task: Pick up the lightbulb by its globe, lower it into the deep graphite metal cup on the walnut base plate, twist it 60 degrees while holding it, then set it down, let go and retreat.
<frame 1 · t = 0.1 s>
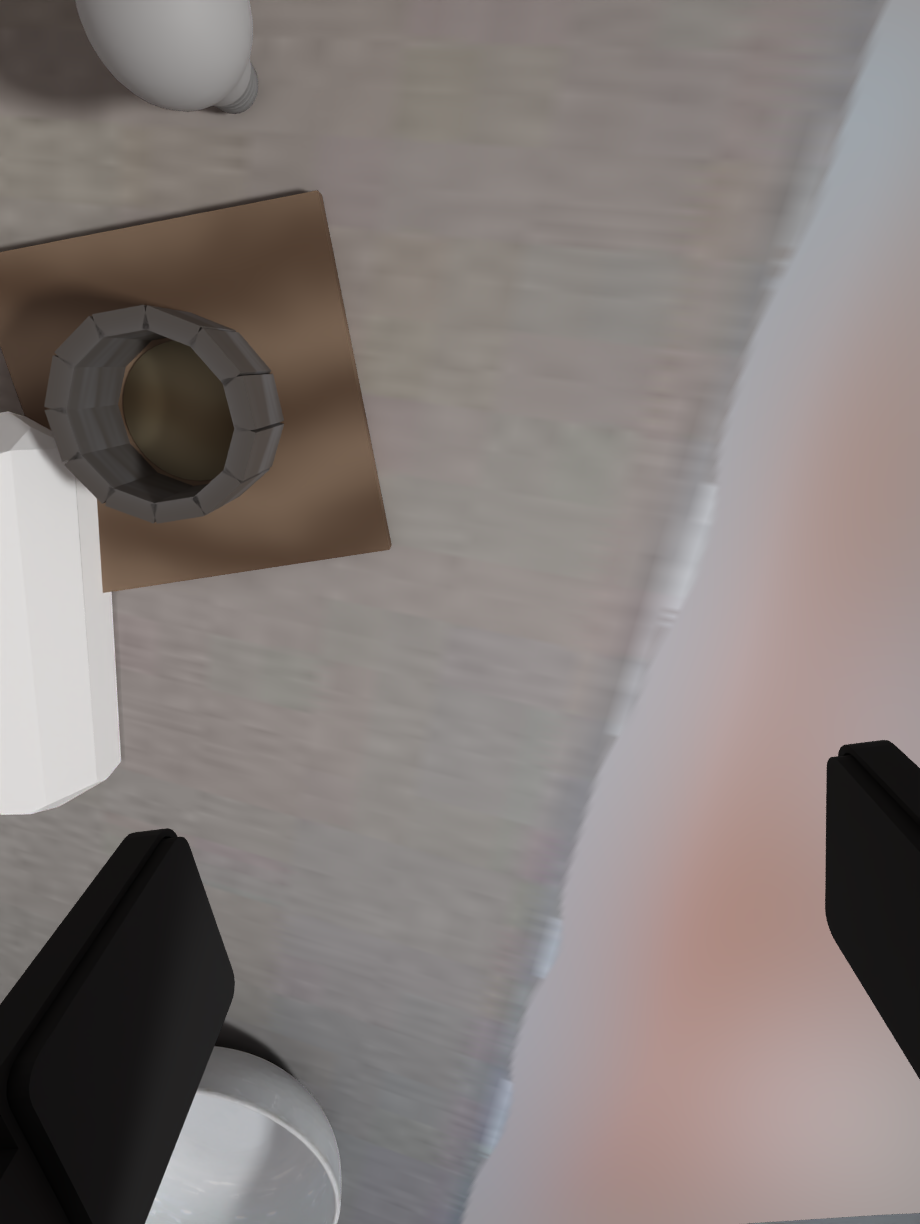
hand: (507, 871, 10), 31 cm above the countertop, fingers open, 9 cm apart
lightbulb: (238, 90, 34), on the countertop
socket: (198, 411, 39), on the countertop
crystal: (60, 608, 43), on the countertop, touching socket
serving bowl: (227, 1097, 57), on the countertop
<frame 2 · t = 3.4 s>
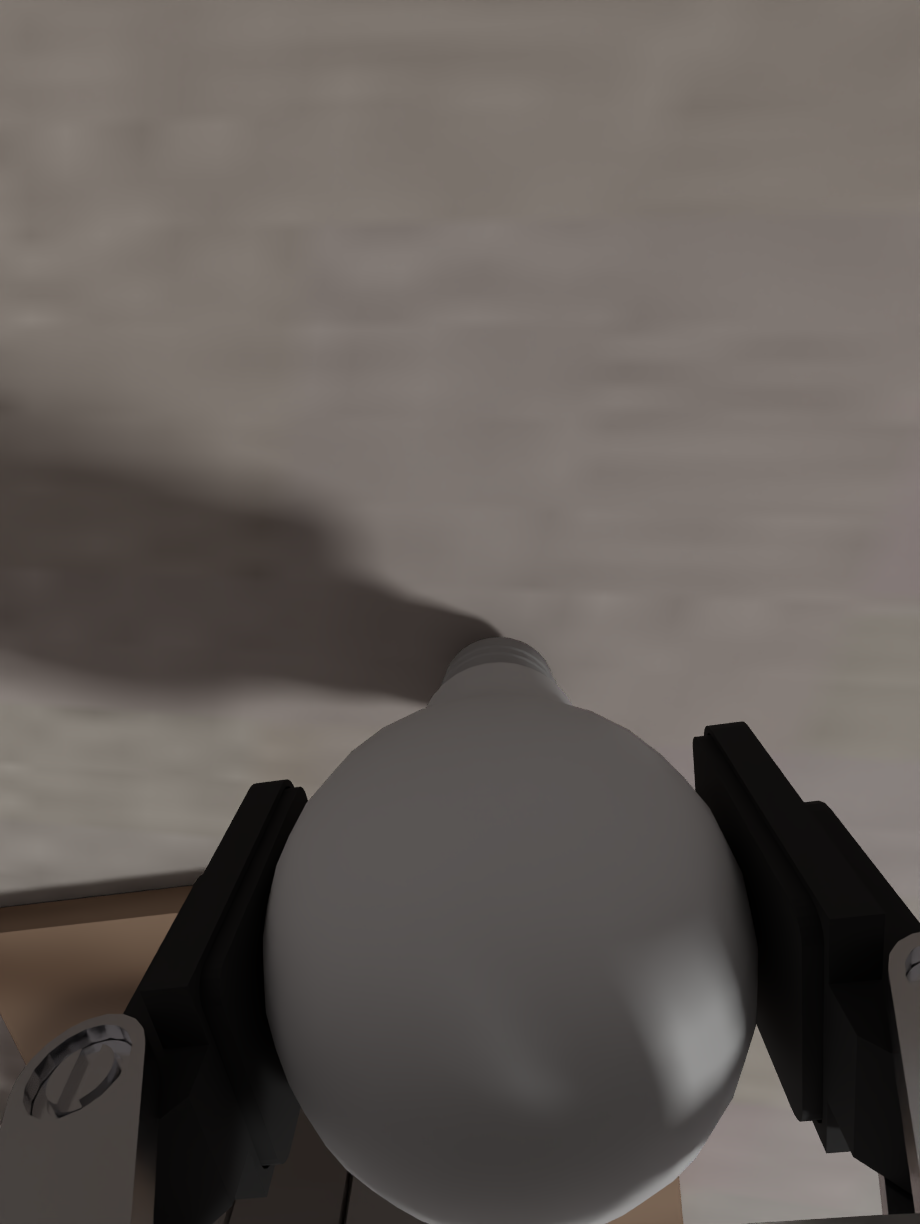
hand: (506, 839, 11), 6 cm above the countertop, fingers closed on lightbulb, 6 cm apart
lightbulb: (498, 669, 17), on the countertop, touching gripper
socket: (370, 1109, 22), on the countertop
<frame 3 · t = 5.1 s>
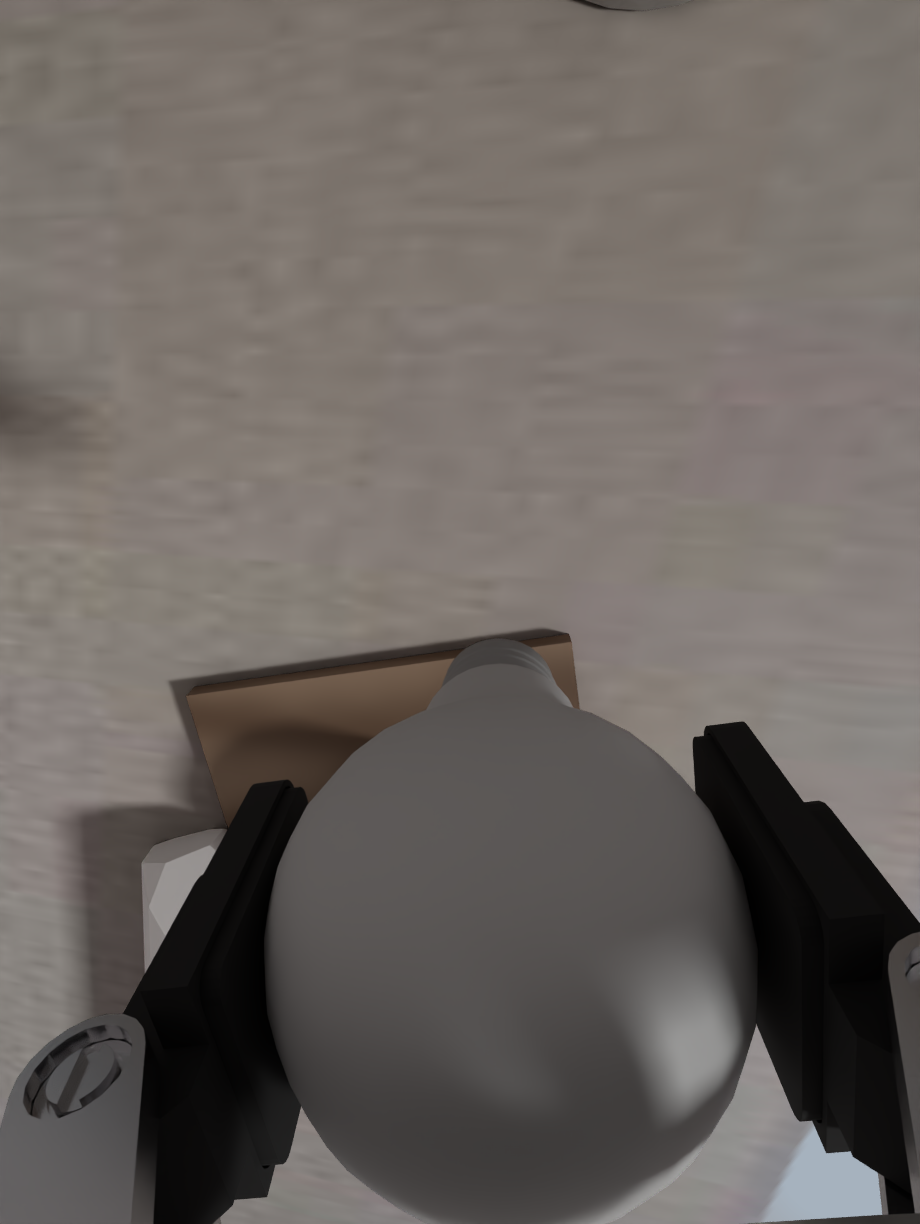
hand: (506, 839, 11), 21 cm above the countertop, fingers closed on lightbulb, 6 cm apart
lightbulb: (498, 670, 17), point 15 cm above the countertop, touching gripper
socket: (412, 821, 36), on the countertop
crystal: (227, 983, 41), on the countertop, touching socket
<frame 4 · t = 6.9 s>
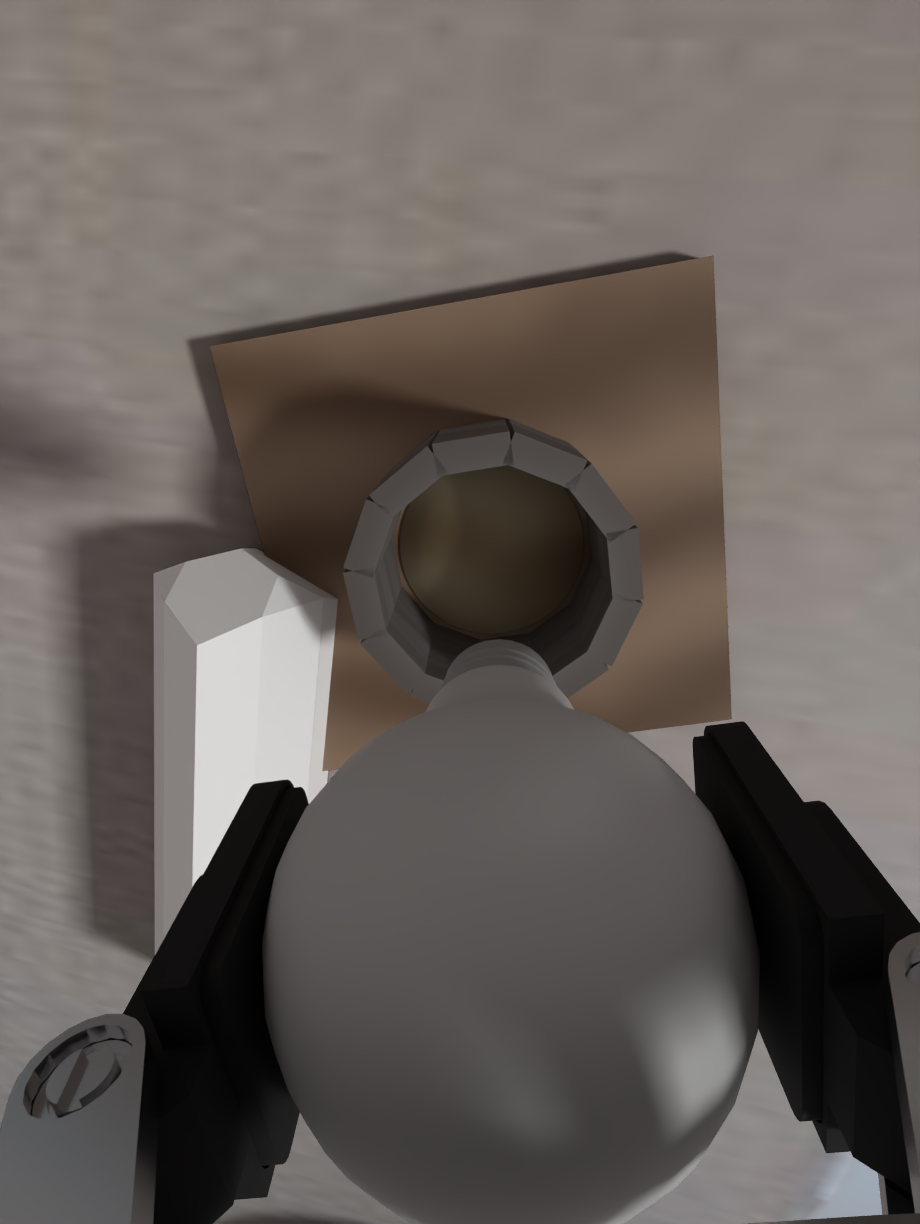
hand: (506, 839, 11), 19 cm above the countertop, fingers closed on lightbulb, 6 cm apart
lightbulb: (498, 671, 17), point 13 cm above the countertop, touching gripper
socket: (491, 541, 29), on the countertop
crystal: (252, 774, 34), on the countertop, touching socket
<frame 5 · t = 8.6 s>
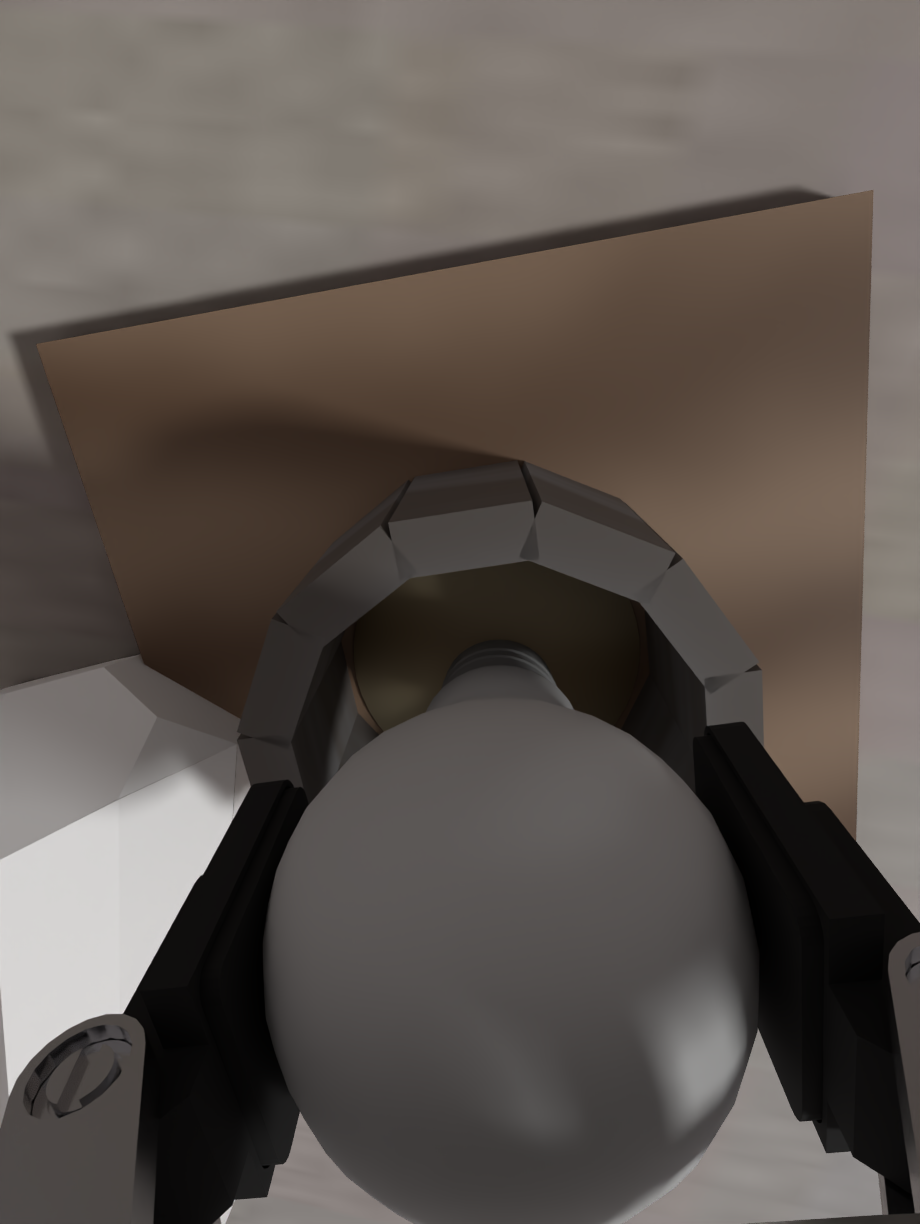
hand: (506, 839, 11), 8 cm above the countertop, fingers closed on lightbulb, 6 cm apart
lightbulb: (498, 672, 17), point 2 cm above the countertop, touching gripper
socket: (494, 642, 19), on the countertop
crystal: (153, 952, 24), on the countertop, touching socket
when the fingers open (7 cm above the countertop, at t = 10.3 s): lightbulb stays where it is, resting on socket.
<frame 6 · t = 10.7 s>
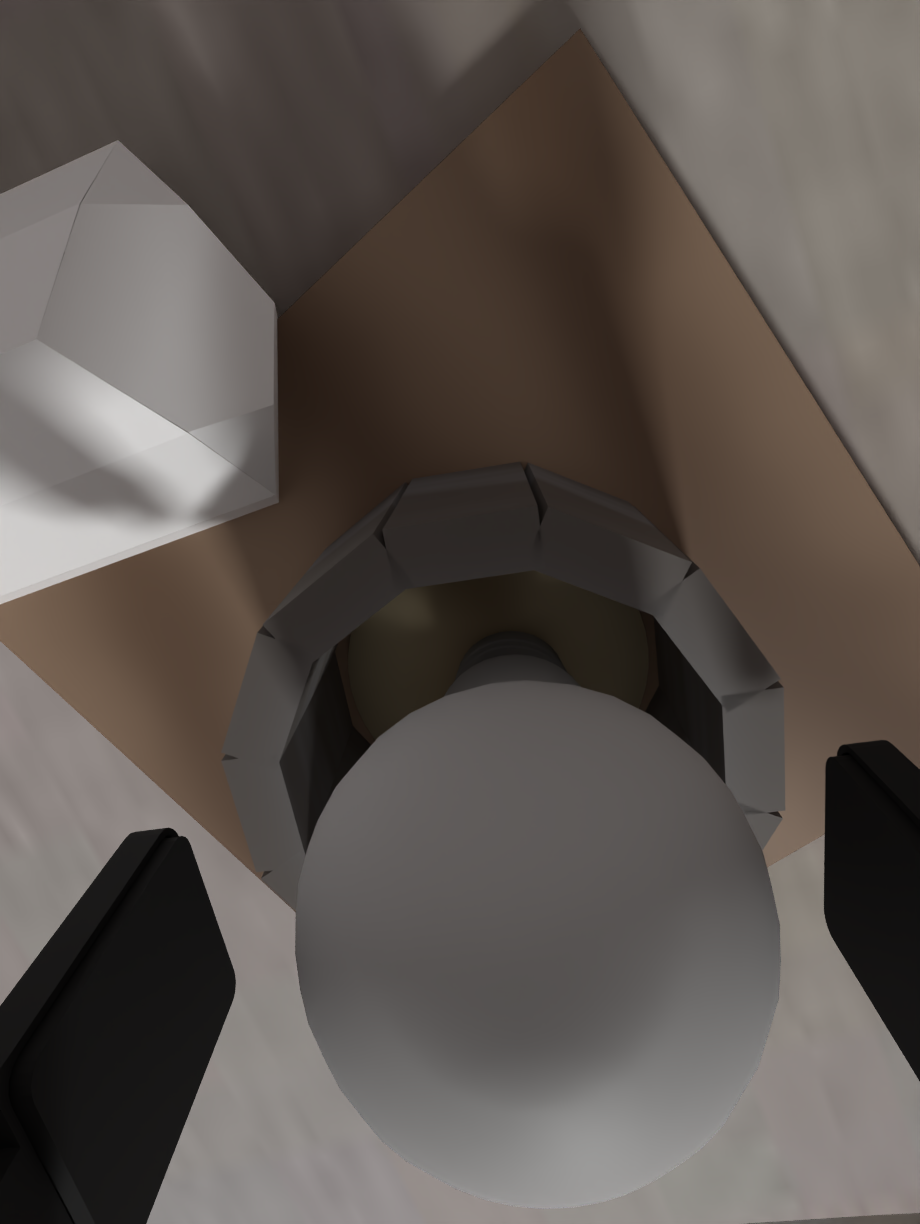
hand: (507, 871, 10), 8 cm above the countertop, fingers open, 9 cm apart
lightbulb: (509, 664, 17), point 1 cm above the countertop, touching socket
socket: (496, 652, 18), on the countertop
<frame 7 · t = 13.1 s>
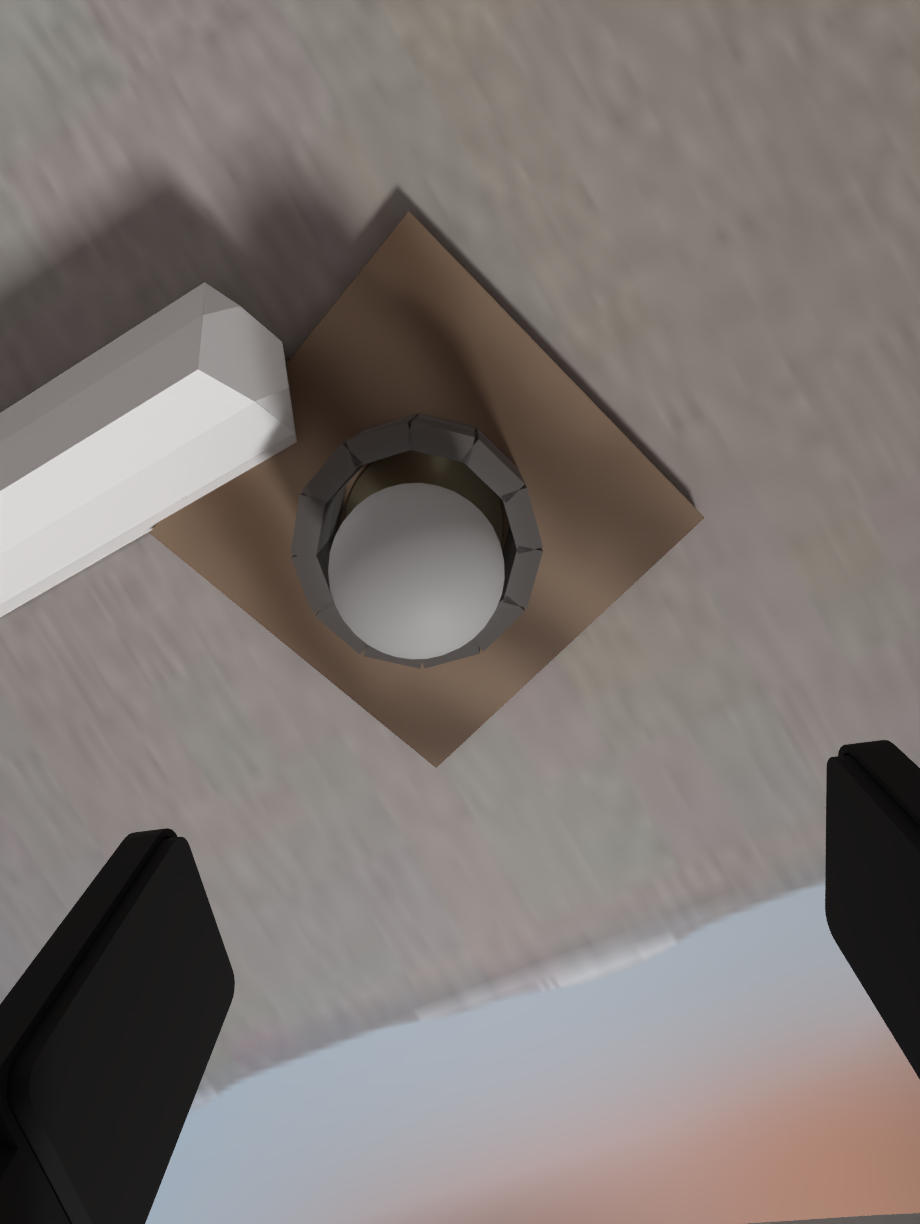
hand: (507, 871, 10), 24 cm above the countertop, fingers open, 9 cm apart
lightbulb: (430, 522, 32), point 1 cm above the countertop, touching socket
socket: (425, 520, 33), on the countertop
crystal: (86, 473, 33), on the countertop, touching socket
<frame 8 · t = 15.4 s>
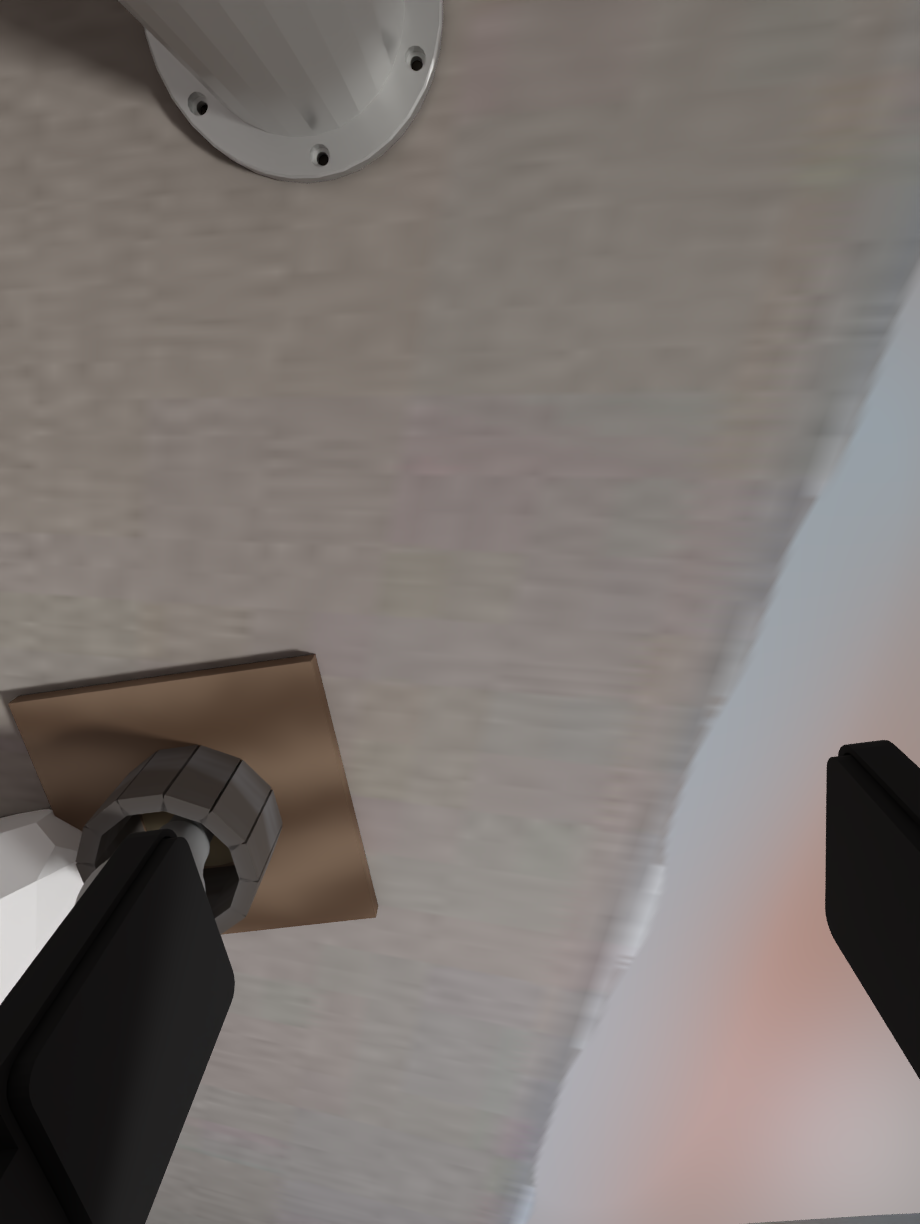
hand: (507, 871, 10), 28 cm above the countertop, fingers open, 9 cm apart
lightbulb: (202, 811, 43), point 1 cm above the countertop, touching socket
socket: (207, 806, 44), on the countertop
crystal: (61, 937, 48), on the countertop, touching socket
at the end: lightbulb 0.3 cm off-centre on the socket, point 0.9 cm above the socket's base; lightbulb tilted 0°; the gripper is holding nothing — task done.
